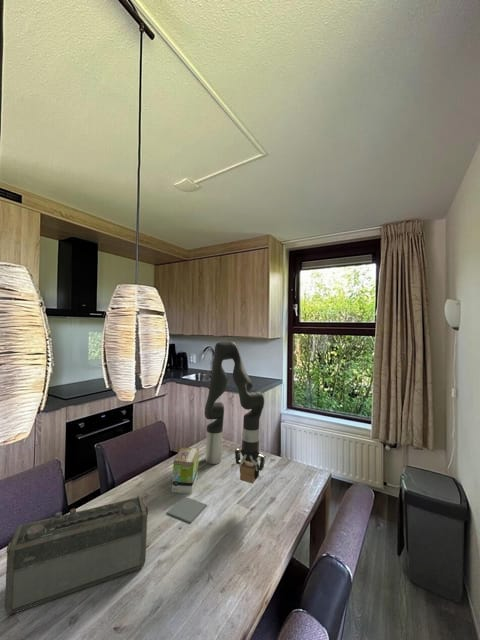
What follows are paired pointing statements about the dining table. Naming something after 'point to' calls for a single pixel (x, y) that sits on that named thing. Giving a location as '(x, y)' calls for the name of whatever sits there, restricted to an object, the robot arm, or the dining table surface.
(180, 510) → the coaster
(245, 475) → the walnut cube
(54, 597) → the radio
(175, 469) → the tea box
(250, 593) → the dining table surface
